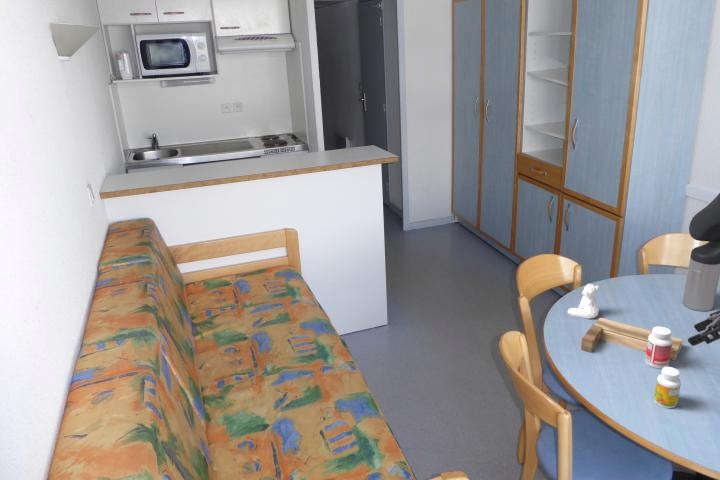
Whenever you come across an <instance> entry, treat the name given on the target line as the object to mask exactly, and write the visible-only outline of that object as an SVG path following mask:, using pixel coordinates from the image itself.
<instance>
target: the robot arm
mask: <svg viewBox="0 0 720 480" xmlns="http://www.w3.org/2000/svg"><path fill="white" fill-rule="evenodd" d="M688 233H689V236H690V237H691V239H693V240H695V241H698V242H699V241H700V242H706V243H705V244H701V245H699V246H696V247H694V248H692V250H691V252H690V259H689V264H688V268H687V269H688V270H687V275H686V280H685V285H684V291H683V297H682V305H683V306H685V307H686V308H687V309H690V310H694V311H699V312H709V311H711V310H713V309H714V307H715V306H714V305H715V301H716V297H717V296H716V295H717V290H718V287H719V286H718V285H719V280H720V192H719V193H718V194H717V195H716V196H715V197H714V199H712V201H711V202H710V203H708V205H705V207H704V208H702V209H701V210H699V211H698V212H697V213H695V215H694V216H692V218H691V220H690V223H689V226H688ZM693 328H694V329H695V331H696V332H698V333H696V334H695V335H693V336H690V337H689V338H687V342H688V343H689V344H690V346H692V347H694V346H697V345H699V344H701V343H704V342H705V344H707V345H709V344H711V343H712V342H715V341H718V340H720V309H719V310H716V311H715V312H712V313H710V314H709V316H708V317H706V318H705V319H704V320H702V321H699V322H698V323H695V324H694V325H693Z"/></svg>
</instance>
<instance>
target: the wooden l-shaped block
mask: <svg viewBox="0 0 720 480" xmlns="http://www.w3.org/2000/svg"><path fill="white" fill-rule="evenodd" d="M650 334H652V330H648V329H645V328H641V327H638V326H633V325H629V324H627V323H626V324H625V323H622V322H619V321H615V320H611V319H607V318H603V317H599V318H598V320H597V321H596V323H595V324H591V327H590V328H589V329H587V331H586V333H585V334H584V335H583V336H582V338H581V344H580V345H581V346H580V350H581V351H582V352H583V351H584V352H588V353H590V354H591V353H592V352H594V350H595V348H596V347H597V346H598V344H599V343H600V341H601V340H603V341H606V342H609V343H614V344H617V345H621V346H623V347H628V348H631V349H635V350H638V351H642V352H645V353H646V349H647V343H648V337H649V335H650ZM670 338H671V339H672V348H671V354H670V360H674V361H676V360H677V358H678V355H679V354H680V351H681V349H682V345H683V339H682V338H678V337H675V336H672V335H671V336H670Z"/></svg>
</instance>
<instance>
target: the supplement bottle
mask: <svg viewBox="0 0 720 480" xmlns="http://www.w3.org/2000/svg"><path fill="white" fill-rule="evenodd" d="M681 384H682V382H681V379H680V371H679V369H677V368H675V367H672V366H667V367H664V368H661V372H660V374H659V375H658V376H657V378H656V385H655V390H654V396H653V400H654V402H655V403H656V405H658V406H659V407H662V408H666V409H673V408H675V407H677V404H678V401H679V396H680V390H681Z"/></svg>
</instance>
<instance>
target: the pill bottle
mask: <svg viewBox="0 0 720 480" xmlns="http://www.w3.org/2000/svg"><path fill="white" fill-rule="evenodd" d="M651 331H652V334H650V335H649V337H648V343H647V349H646V352H645V357H644V362H645V363H646V364H647V365H648V366H650V367H652V368H656V369H660V370H662V368H664V367H669V364H670V360H671V359H670V354H671V348H672V339H671V338H670V336H672V331H671V330H670V328H668V327H665V326H659V325H657V326H654V327H652V330H651Z"/></svg>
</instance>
